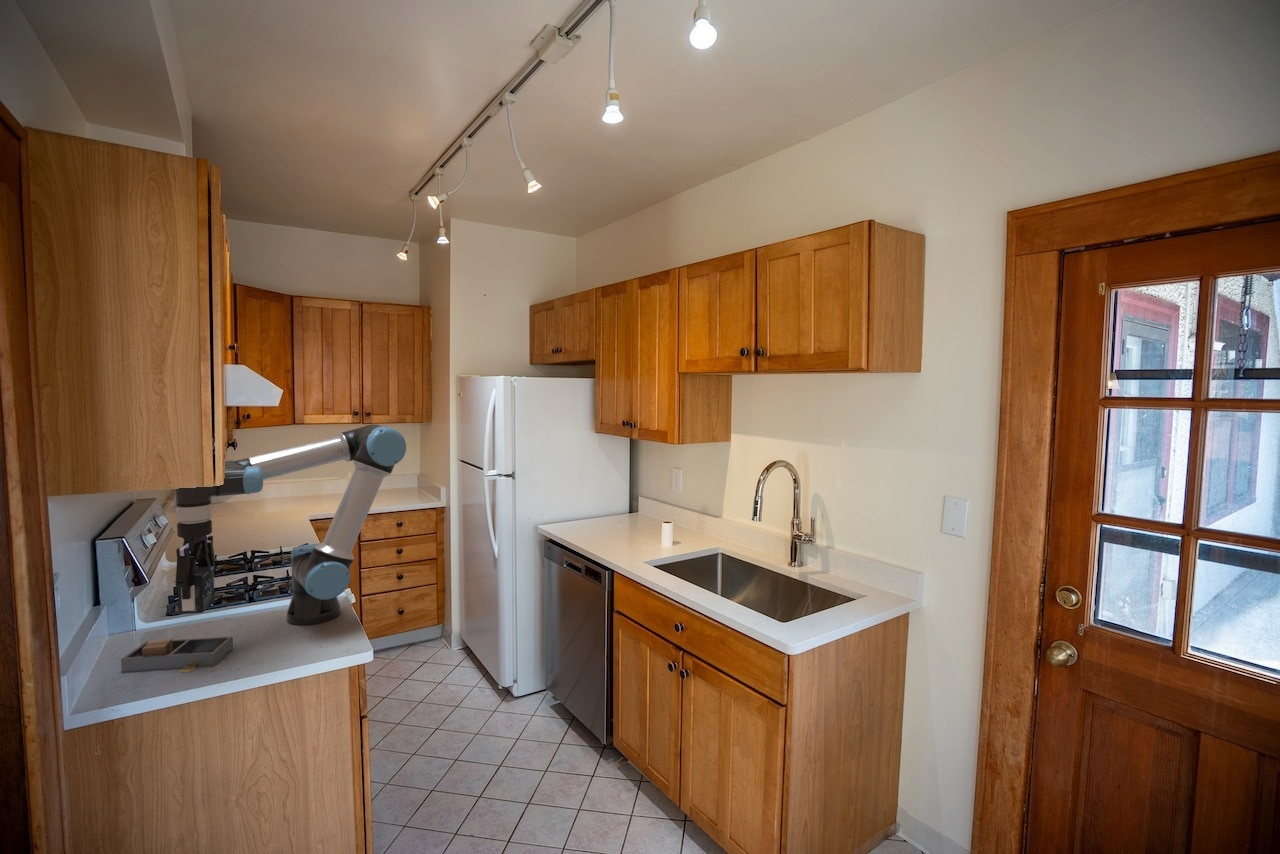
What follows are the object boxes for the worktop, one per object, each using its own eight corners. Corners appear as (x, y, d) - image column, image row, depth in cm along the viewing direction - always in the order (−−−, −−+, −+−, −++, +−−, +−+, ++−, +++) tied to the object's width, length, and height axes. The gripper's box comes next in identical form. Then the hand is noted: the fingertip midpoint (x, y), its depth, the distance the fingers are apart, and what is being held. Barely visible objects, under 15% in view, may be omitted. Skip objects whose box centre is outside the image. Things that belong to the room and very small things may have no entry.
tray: (146, 653, 169) (146, 641, 169) (233, 648, 173) (232, 636, 173) (115, 676, 157) (114, 663, 156) (209, 670, 160) (209, 657, 160)
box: (203, 613, 163) (201, 574, 162) (178, 615, 161) (176, 575, 160) (215, 602, 170) (214, 565, 169) (191, 604, 169) (190, 566, 168)
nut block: (150, 659, 167) (149, 641, 166) (172, 656, 168) (172, 638, 168) (143, 667, 162) (142, 648, 162) (166, 664, 164) (165, 646, 163)
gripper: (199, 512, 173) (202, 591, 175) (155, 530, 153) (159, 619, 155) (228, 511, 175) (231, 590, 177) (189, 529, 154) (192, 618, 156)
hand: (197, 604), depth 166 cm, fingers closed on box, 8 cm apart
